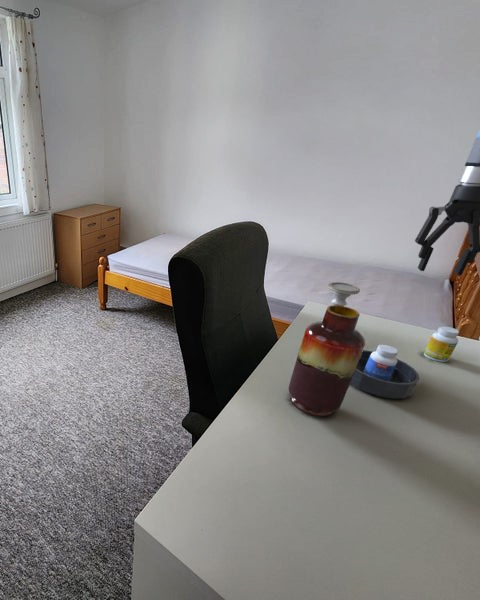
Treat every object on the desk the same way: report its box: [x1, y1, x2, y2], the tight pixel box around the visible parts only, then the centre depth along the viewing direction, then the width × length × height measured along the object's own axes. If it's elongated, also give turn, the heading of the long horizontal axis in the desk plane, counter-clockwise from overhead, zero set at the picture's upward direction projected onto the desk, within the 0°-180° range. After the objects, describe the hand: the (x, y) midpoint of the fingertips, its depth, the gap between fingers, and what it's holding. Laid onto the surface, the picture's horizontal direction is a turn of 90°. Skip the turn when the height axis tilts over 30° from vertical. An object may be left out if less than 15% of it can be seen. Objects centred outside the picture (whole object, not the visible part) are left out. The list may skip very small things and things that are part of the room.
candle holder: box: [321, 281, 361, 321], centre depth 104 cm, size 9×9×20 cm
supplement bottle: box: [423, 325, 460, 363], centre depth 99 cm, size 5×5×10 cm
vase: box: [288, 304, 366, 418], centre depth 79 cm, size 11×11×26 cm
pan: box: [350, 349, 421, 400], centre depth 91 cm, size 15×15×5 cm
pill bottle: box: [363, 344, 399, 381], centre depth 89 cm, size 6×5×10 cm
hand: (438, 271), depth 94 cm, fingers open, 7 cm apart
